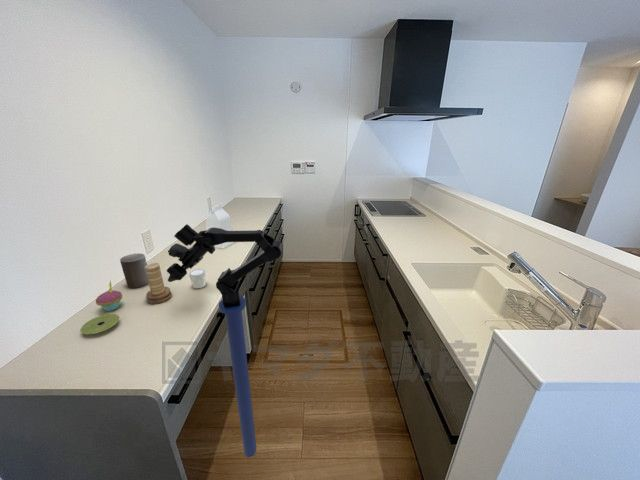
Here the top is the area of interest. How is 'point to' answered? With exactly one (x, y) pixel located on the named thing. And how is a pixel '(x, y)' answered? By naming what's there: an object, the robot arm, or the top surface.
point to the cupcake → (109, 299)
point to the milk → (219, 222)
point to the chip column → (155, 278)
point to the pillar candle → (134, 270)
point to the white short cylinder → (198, 278)
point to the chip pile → (158, 296)
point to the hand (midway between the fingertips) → (175, 275)
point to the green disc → (99, 324)
